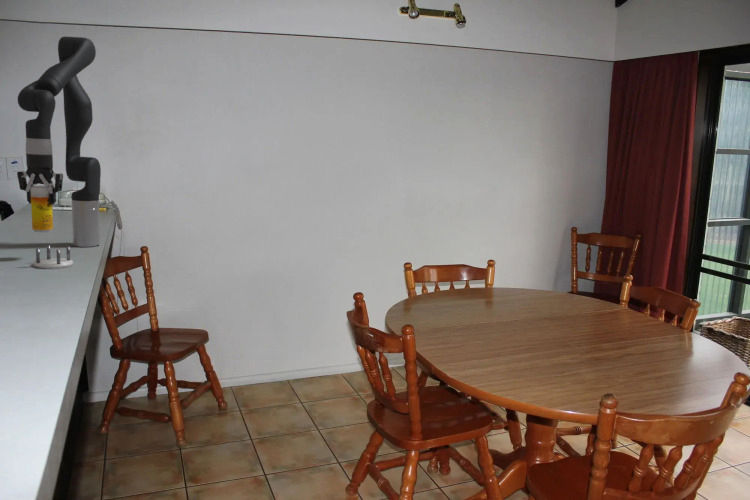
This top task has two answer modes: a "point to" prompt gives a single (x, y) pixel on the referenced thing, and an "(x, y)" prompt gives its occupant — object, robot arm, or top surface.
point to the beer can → (41, 209)
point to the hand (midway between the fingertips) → (41, 203)
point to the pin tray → (53, 260)
